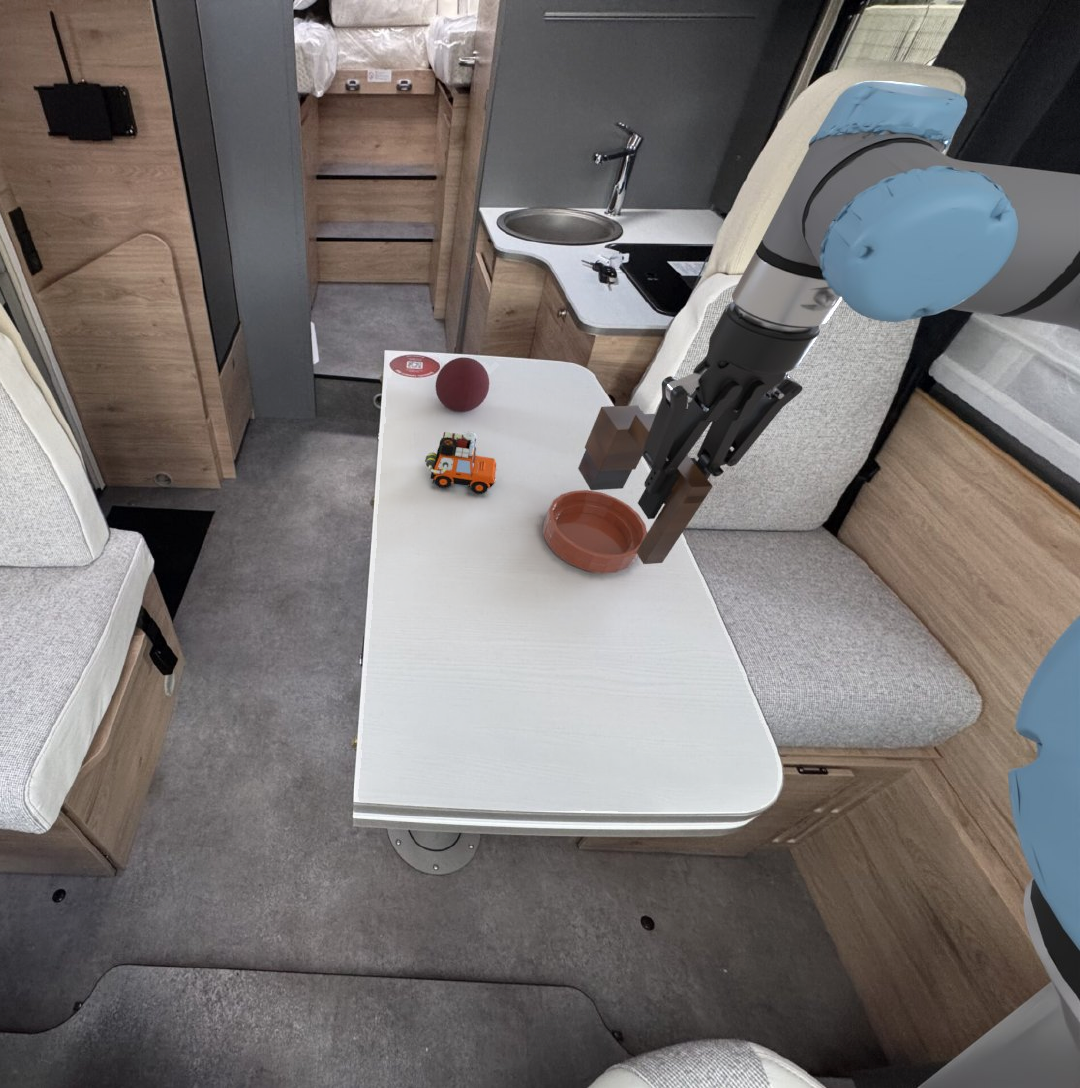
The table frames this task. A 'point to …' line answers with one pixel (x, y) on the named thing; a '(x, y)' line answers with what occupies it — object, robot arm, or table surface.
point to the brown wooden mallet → (619, 453)
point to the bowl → (594, 531)
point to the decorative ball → (462, 384)
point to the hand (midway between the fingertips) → (658, 509)
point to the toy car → (461, 463)
